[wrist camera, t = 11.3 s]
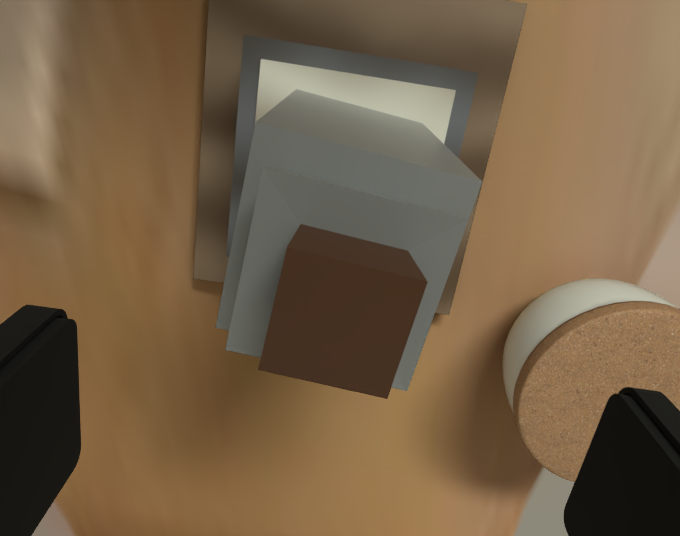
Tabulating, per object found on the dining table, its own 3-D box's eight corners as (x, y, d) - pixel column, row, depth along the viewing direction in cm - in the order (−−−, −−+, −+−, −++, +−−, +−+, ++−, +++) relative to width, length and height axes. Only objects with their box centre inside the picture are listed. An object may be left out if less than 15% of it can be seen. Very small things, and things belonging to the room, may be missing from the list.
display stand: (217, -46, 32) (185, -69, 25) (519, 5, 33) (561, -5, 26) (198, 270, 39) (170, 313, 33) (445, 305, 40) (463, 353, 34)
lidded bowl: (624, 410, 43) (710, 522, 33) (466, 393, 43) (504, 501, 32) (679, 262, 38) (800, 340, 28) (504, 241, 38) (561, 312, 28)
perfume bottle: (422, 123, 28) (530, 228, 12) (386, 241, 31) (433, 467, 14) (296, 89, 28) (222, 149, 11) (269, 212, 30) (175, 412, 14)
